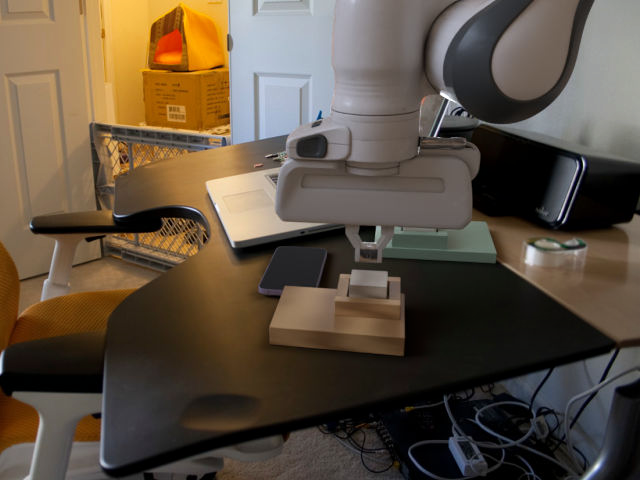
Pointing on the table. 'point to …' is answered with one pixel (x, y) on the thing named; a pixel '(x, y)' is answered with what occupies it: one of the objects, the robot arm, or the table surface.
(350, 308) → the wooden platform
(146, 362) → the table surface
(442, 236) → the tiered green tray
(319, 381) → the table surface
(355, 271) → the key front
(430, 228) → the key back
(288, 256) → the smartphone
